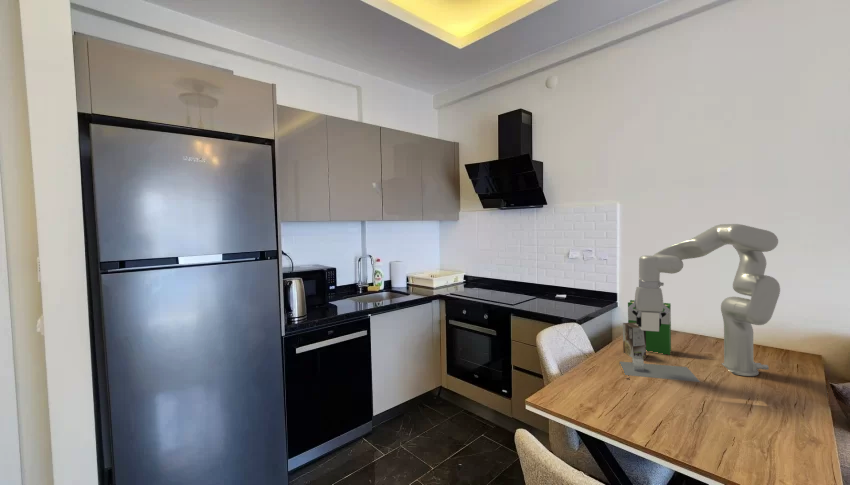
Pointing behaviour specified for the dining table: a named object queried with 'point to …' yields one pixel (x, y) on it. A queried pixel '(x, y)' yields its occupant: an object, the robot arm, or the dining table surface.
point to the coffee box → (634, 340)
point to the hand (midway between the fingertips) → (648, 326)
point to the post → (638, 363)
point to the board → (660, 372)
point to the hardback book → (656, 332)
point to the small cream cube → (649, 321)
